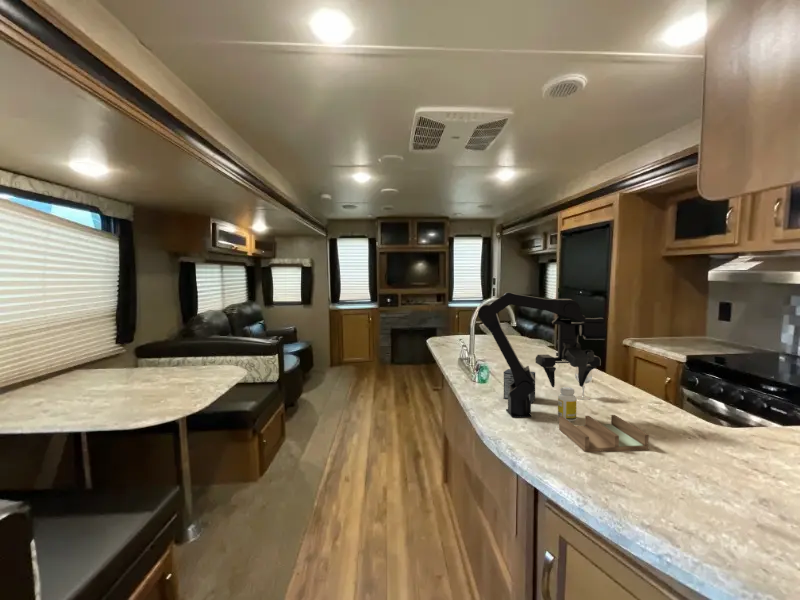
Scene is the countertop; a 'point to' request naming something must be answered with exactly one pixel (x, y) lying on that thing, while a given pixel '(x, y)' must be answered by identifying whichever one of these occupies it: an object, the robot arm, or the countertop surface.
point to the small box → (509, 380)
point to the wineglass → (588, 379)
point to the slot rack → (605, 435)
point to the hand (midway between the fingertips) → (567, 386)
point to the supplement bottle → (567, 404)
